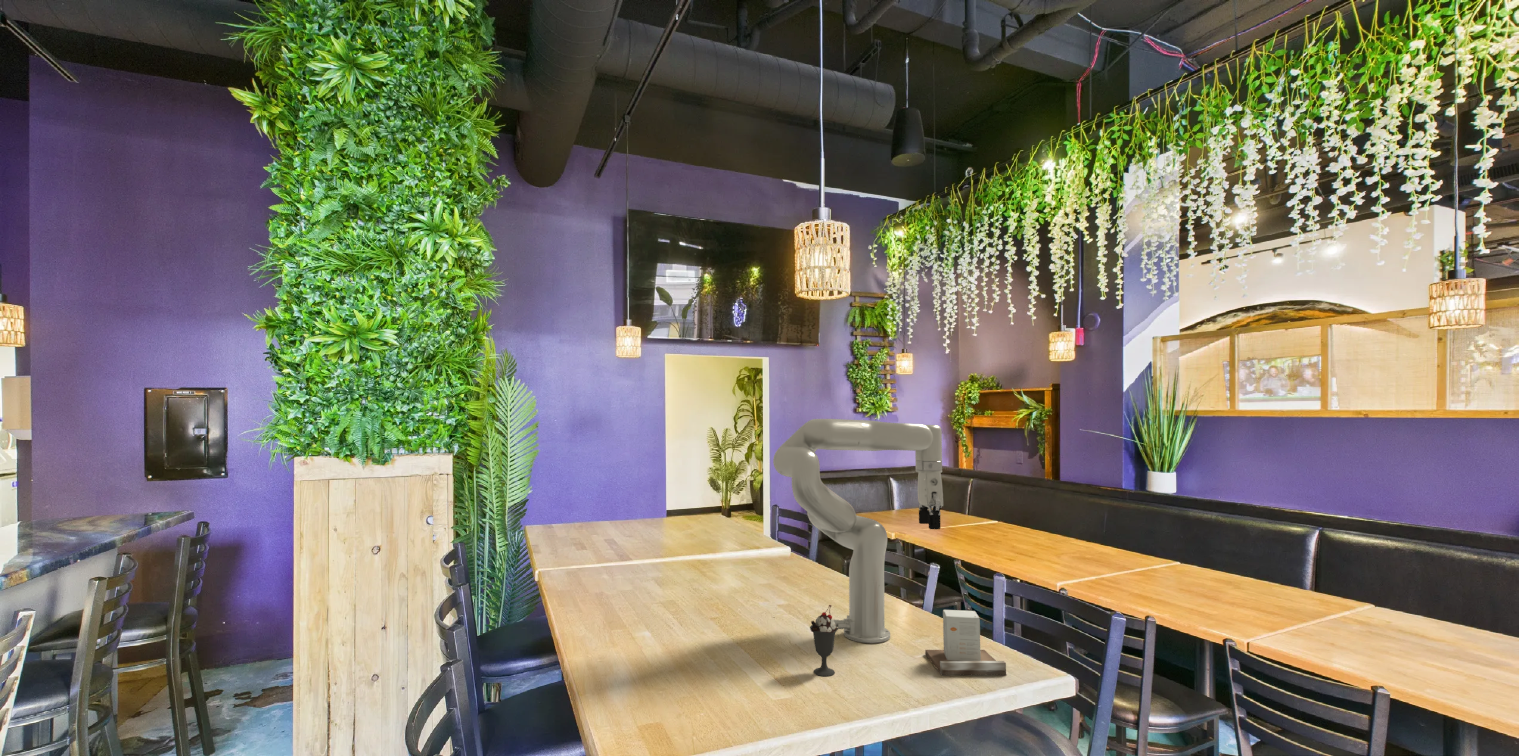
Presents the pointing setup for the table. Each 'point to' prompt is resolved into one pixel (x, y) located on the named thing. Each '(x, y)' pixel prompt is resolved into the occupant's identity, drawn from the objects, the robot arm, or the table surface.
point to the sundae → (824, 641)
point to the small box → (961, 635)
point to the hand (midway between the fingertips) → (929, 526)
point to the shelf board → (966, 664)
